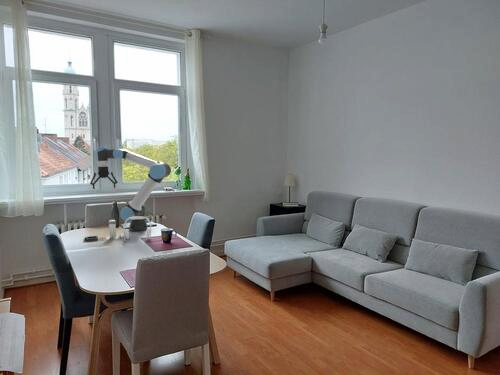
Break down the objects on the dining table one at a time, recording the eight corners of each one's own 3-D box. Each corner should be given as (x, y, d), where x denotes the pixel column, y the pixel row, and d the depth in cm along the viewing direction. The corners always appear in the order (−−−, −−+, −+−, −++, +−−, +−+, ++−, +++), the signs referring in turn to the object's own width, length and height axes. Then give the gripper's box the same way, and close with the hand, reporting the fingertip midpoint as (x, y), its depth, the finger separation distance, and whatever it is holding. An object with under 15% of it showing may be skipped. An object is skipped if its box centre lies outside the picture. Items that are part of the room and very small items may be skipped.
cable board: (120, 237, 270) (120, 232, 270) (122, 240, 261) (121, 235, 261) (83, 241, 259) (83, 236, 259) (83, 244, 250) (83, 239, 250)
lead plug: (115, 236, 266) (115, 219, 265) (116, 237, 262) (115, 220, 261) (109, 237, 264) (108, 220, 263) (109, 238, 260) (108, 221, 259)
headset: (151, 237, 269) (151, 214, 267) (151, 240, 262) (151, 216, 260) (124, 239, 264) (123, 216, 262) (123, 242, 257) (122, 218, 255)
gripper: (119, 165, 289) (120, 191, 291) (85, 166, 279) (87, 193, 281) (120, 165, 282) (121, 192, 285) (85, 166, 272) (87, 194, 274)
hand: (104, 192), depth 283 cm, fingers open, 13 cm apart
